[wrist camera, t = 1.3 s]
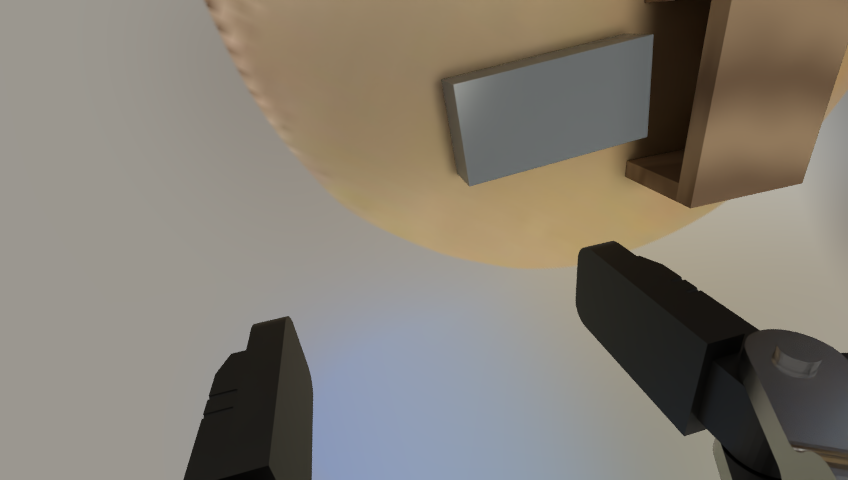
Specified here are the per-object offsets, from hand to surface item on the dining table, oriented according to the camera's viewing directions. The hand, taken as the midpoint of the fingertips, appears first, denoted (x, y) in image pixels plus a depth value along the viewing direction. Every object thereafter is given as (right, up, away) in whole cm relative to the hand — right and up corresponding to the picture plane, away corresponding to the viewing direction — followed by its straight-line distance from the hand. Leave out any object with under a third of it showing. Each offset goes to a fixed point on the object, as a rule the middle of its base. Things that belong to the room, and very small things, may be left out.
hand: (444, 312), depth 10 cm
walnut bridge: (+17, +13, +19) cm, 28 cm away
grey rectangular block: (+7, +11, +17) cm, 22 cm away
